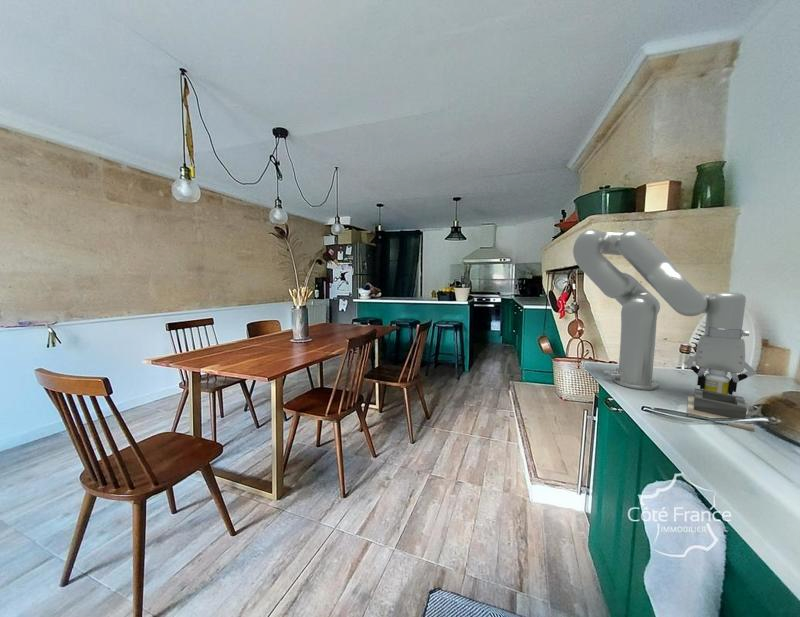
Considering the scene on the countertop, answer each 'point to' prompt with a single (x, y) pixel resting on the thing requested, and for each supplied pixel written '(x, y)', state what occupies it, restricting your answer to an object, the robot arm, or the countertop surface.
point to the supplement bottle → (717, 381)
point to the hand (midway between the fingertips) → (715, 390)
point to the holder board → (718, 407)
